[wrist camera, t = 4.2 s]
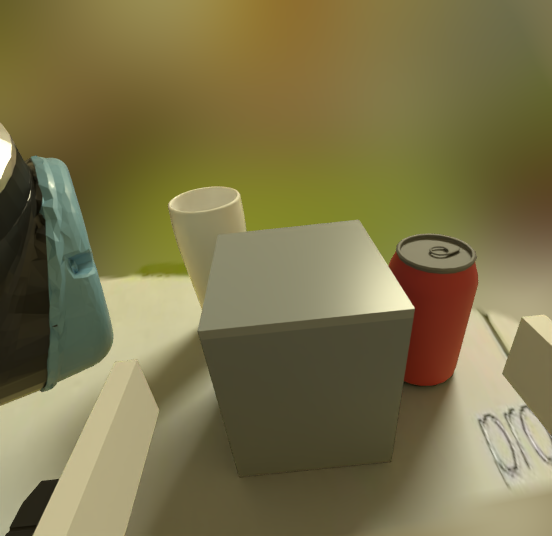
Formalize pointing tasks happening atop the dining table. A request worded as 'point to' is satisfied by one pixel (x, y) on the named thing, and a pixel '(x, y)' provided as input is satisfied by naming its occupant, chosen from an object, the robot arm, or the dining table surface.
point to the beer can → (435, 302)
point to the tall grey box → (305, 347)
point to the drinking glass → (204, 228)
